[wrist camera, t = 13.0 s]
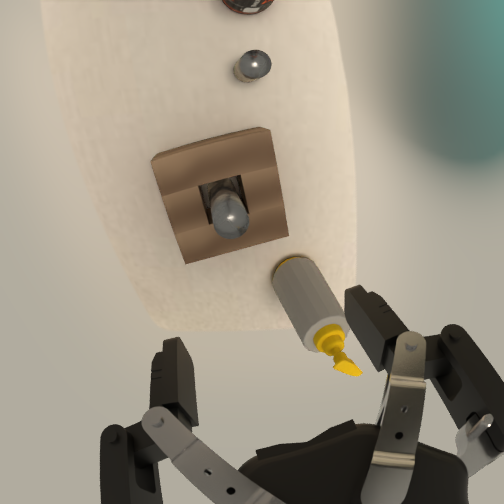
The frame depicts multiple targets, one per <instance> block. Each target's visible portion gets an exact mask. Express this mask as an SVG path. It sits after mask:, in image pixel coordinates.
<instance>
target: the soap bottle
mask: <svg viewBox="0 0 504 504" xmlns="http://www.w3.org/2000/svg"><path fill="white" fill-rule="evenodd" d="M272 283H273V287H274V290H275V292H276V294H277V296H278V298H279V300H280V302H281V304H282V305H283V307H284V309H285V311H286V313H287V315H288V317H289V319H290V320H291V322H292V324H293V326H294V328H295V330H296V332H297V334H298V335H299V337H300V339H301V341H302V343H303V345H304V347H305V348H306V349H308V350H309V351H312V352H324V353H326V354H327V355H328V356H334V358H333V360H334V362H335V365H334V366H333V368H334V369H336V370H338V371H341V372H343V373H346V374H349V375H352V376H359V375H361V374H362V373H363V372H362V371H361V370H360V369H359V368H358V367H357V366H356V365H355V364H354V362H353V361H352V360H351V359H349V358H347V356H346V354H345V353H344V352H341V351H342V350H343V348H344V340H345V338H346V337H347V335H348V332H349V330H350V326H349V325H348V323H347V321H346V318H345V313H344V311H343V310H342V308H341V306H340V304H339V303H338V301H337V299H336V298H335V296H334V294H333V292H332V291H331V289H330V287H329V286H328V284H327V282H326V281H325V279H324V277H323V276H322V274H321V272H320V271H319V269H318V267H317V266H316V265H315V263H314V262H313V261H311V260H309V259H307V258H301V257H292V258H289V259H286V260H285V261H284V262H282V263H281V264H280V265H279V266H278V268H277V269H276V272H275V274H274V277H273V282H272Z"/></svg>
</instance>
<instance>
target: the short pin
mask: <svg viewBox="0 0 504 504" xmlns="http://www.w3.org/2000/svg"><path fill="white" fill-rule="evenodd" d="M270 69H271V60H270V58H269V56H268V55H267V54H266V53H264V52H263V51H260V50H251V51H248V52H246V53H245V54H244V55H243V56H242V57H241V58H240V59H239V60H238V62H237V63H236V64H235V66H234V74H235V76H236V78H237V79H239V80H240V81H242V82H252V81H254V80H256V79H259V78H261V77H263V76H265V75H266V74H267V73H268V72H269V71H270Z"/></svg>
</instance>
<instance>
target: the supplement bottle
mask: <svg viewBox="0 0 504 504" xmlns="http://www.w3.org/2000/svg"><path fill="white" fill-rule="evenodd" d="M273 1H274V0H223V2H224V3H225V4H226V5H227V6H228V7H229V8H230V9H232V10H233V11H236V12H238V13H243V14H254V13H259V12H261V11H263V10H265V9H266V8H267V7H268V6H270V5H271V4H272V2H273Z"/></svg>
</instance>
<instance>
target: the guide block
mask: <svg viewBox="0 0 504 504" xmlns="http://www.w3.org/2000/svg"><path fill="white" fill-rule="evenodd" d="M151 165H152V168H153V171H154V174H155V177H156V181H157V184H158V187H159V190H160V193H161V196H162V199H163V202H164V205H165V208H166V211H167V214H168V217H169V220H170V223H171V226H172V228H173V231H174V234H175V237H176V240H177V242H178V245H179V248H180V251H181V253H182V256H183V259H184V261H185V264H189V263H192V262H196V261H199V260H203V259H207V258H210V257H214V256H217V255H221V254H225V253H228V252H232V251H236V250H239V249H243V248H246V247H250V246H254V245H257V244H261V243H265V242H268V241H272V240H276V239H279V238H283V237H287V236H289V233H288V227H287V221H286V215H285V209H284V203H283V197H282V191H281V185H280V180H279V174H278V169H277V163H276V158H275V152H274V147H273V142H272V137H271V132H270V130H268V129H265V128H262V127H256V128H252V129H247V130H242V131H238V132H234V133H229V134H225V135H221V136H217V137H213V138H209V139H205V140H202V141H198V142H194V143H191V144H187V145H184V146H181V147H177V148H174V149H171V150H167V151H164V152H161V153H158V154H156V156H155V157H154V158H153V159H152V160H151ZM233 176H237V179H238V184H239V188H240V192H241V197H242V200H241V202H242V204H243V206H244V208H245V210H246V212H247V214H248V216H249V227H248V229H247V231H246V232H245V233H244V234H243V235H242V236H240V237H238V238H235V239H226V238H223V237H221V236H220V235H218V234H217V232H216V231H215V229H214V225H213V219H212V213H211V208H208V209H207V207H206V204H205V200H204V197H203V193H202V190H201V186H200V185H203V184H206V183H210V182H214V181H217V180H221V179H225V178H229V177H233Z"/></svg>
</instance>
